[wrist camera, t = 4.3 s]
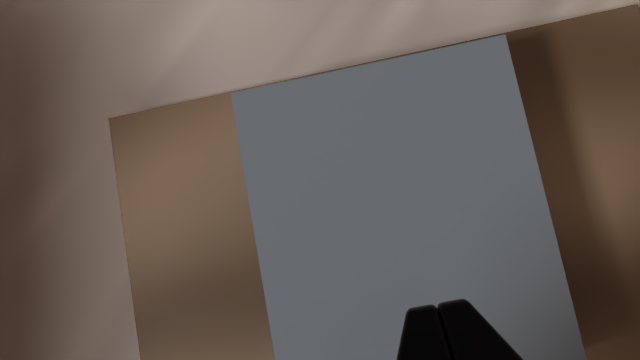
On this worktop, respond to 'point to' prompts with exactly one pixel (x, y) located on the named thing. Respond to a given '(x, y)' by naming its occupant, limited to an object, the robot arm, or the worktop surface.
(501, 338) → the robot arm
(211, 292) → the board
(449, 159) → the tile
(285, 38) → the worktop surface
